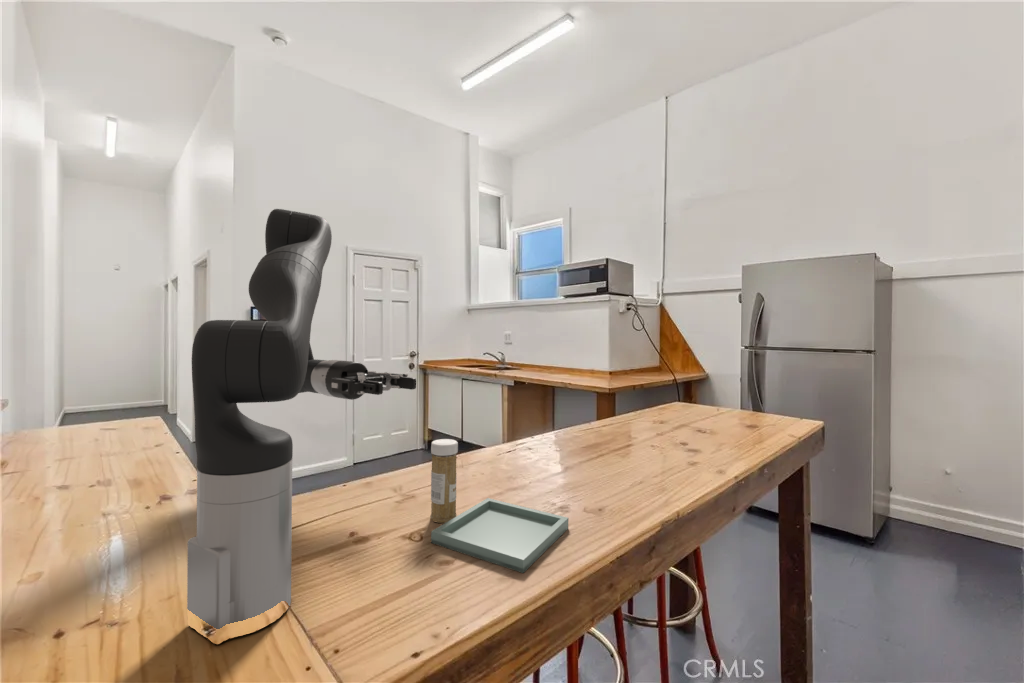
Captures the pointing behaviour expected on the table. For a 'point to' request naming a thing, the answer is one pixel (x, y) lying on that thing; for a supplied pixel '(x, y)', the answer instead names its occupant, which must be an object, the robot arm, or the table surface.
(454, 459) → the spice jar
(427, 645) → the table surface
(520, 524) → the tray
